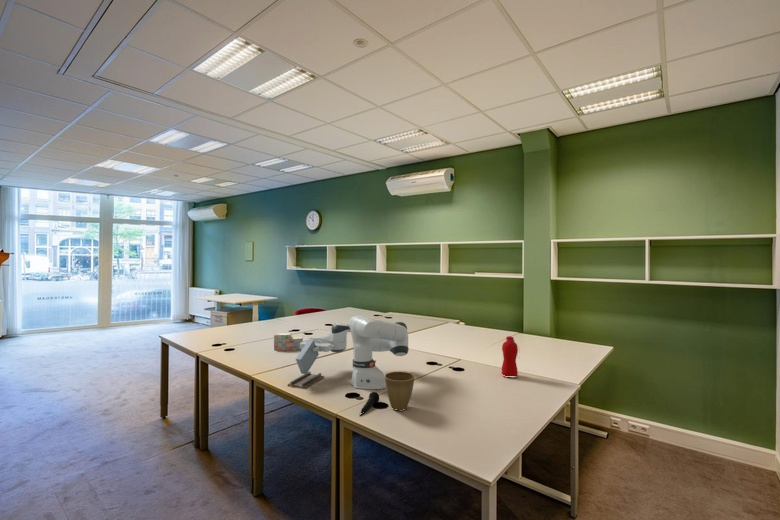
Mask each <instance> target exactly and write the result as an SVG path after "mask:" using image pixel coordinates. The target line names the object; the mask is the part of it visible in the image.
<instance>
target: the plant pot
mask: <svg viewBox="0 0 780 520" xmlns="http://www.w3.org/2000/svg"><path fill="white" fill-rule="evenodd" d="M384 376H385V383H386V387H385V389H386V393H387V398H388V401H389V404H390V407H391V409H392V408H393V409H397V410H403V409H406V410H407V408H408V406H409V403H410V400H411V397H412V393H413V389H414V382H415V375H414V374H412V373H411V372H407V371H391V372H388V373H386V374H384ZM393 409H392V410H393ZM403 411H404V410H403Z"/></svg>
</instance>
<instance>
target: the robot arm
mask: <svg viewBox="0 0 780 520" xmlns="http://www.w3.org/2000/svg"><path fill="white" fill-rule="evenodd" d="M348 333H351V338H352V344H353V359H352V373H351V374H352V375H351V379H350V385H352V386H353V387H354V389H359V390H361V389H362V390H375V389H378V390H379V389H381V390H383V388H384V389H386V383H385V373H384V371H383V370H381V369H379V367H377V365H376V363H377V360H374V359H373V353H378V352H380V353H381V352H383V353H384V352H390V353H392V354H393V355H395V357H403V356H406V355H407V354H409V332H408V326H407V324H406V323H404V322H402V321H397V322H391V321H386V320H381V319H372V318H369V317H366V316H363V315H361V314H360V315H353V316H352V317H350V318H349V321H348V324H345V323H342V322H336V323H334V324H333V325H332V326H331V333H327V334H324V335H321V336H317V337H310V338H308V339H305V340H303V342H301V343H300V349H303V347H304V346H305V344H306V343H307V341H308V340H314V342H315V345H316V347H315V348H312V351H318V353H321V352H325V353H328V352H332V353H335V354H336V353H343V352H344V351H345V350H346V349H347V346H348V345H347V344H348V342H347V341H348V340H347V339H348V337H347V336H348ZM378 390H377V391H378Z"/></svg>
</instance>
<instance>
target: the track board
mask: <svg viewBox="0 0 780 520" xmlns="http://www.w3.org/2000/svg"><path fill="white" fill-rule="evenodd" d="M323 377H324V378H325V376H324V375H322V372H320V373H317V374H315V373H313V374H312V371H310V370H309V371H308V373H307V374H301V376H299V377H296V378H295V379H293V380H292V381H290V382H289V383H288V384H287V387H291V386H292V388H299V389H304V388H305V389H308V388H309V387H311V386H313V385H314V384H315V382H316V383H318V382H319V381H320V379H321V380H322V379H324V378H323ZM312 384H313V385H312Z"/></svg>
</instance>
